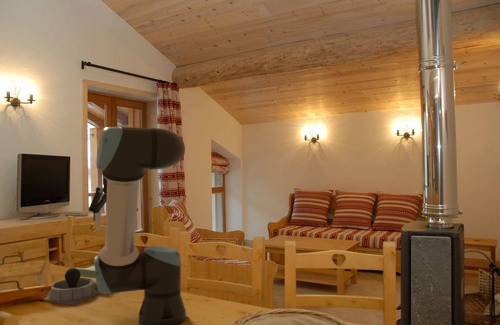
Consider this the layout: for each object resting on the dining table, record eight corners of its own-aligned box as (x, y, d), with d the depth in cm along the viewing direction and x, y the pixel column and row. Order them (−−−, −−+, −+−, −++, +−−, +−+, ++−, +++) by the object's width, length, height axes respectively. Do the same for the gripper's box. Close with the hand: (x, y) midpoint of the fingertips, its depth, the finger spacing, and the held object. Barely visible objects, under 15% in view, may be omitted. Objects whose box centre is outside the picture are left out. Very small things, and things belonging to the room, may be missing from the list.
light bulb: (61, 295, 155) (61, 269, 155) (70, 291, 161) (71, 265, 161) (74, 296, 154) (74, 270, 154) (83, 292, 159) (83, 266, 160)
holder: (103, 292, 162) (103, 280, 162) (72, 305, 147) (72, 292, 147) (71, 288, 168) (71, 276, 168) (38, 300, 153) (38, 287, 153)
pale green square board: (128, 269, 177) (128, 262, 177) (103, 279, 162) (103, 271, 162) (98, 266, 183) (98, 259, 183) (71, 275, 168) (71, 268, 168)
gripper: (147, 174, 158) (147, 230, 157) (92, 174, 165) (91, 228, 165) (136, 174, 151) (136, 232, 150) (79, 174, 158) (79, 230, 158)
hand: (113, 230), depth 157 cm, fingers open, 13 cm apart
